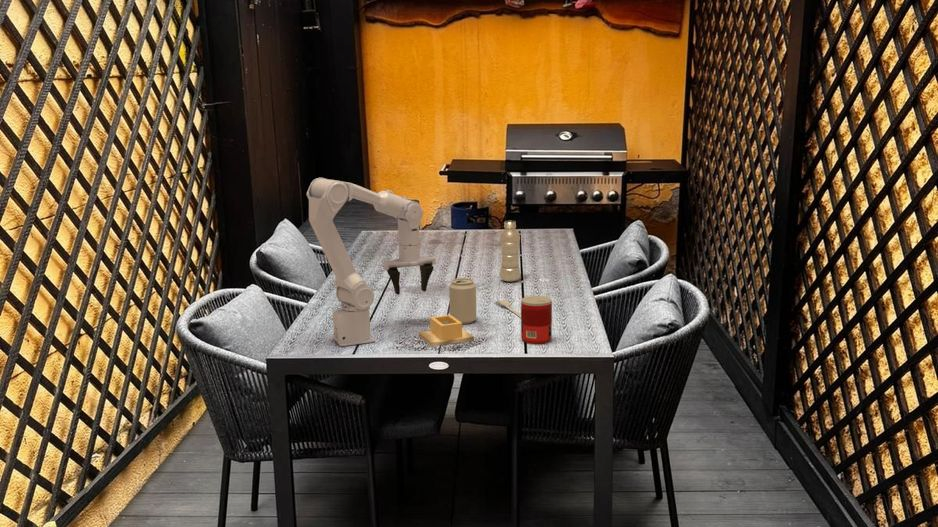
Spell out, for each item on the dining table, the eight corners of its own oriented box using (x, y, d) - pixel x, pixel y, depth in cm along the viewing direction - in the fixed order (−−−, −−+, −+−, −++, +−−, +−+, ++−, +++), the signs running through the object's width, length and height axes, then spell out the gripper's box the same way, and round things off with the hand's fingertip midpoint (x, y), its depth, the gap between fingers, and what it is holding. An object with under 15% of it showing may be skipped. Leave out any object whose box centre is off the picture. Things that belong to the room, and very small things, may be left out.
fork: (522, 329, 249) (523, 320, 248) (491, 303, 267) (491, 295, 266) (531, 328, 250) (532, 319, 249) (499, 302, 268) (500, 294, 267)
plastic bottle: (498, 279, 294) (498, 220, 290) (518, 278, 295) (518, 219, 290) (501, 284, 288) (500, 223, 284) (521, 283, 289) (521, 223, 284)
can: (461, 315, 254) (460, 275, 251) (481, 320, 249) (481, 279, 246) (444, 321, 248) (443, 280, 245) (464, 326, 244) (464, 284, 241)
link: (441, 340, 228) (441, 325, 228) (430, 331, 236) (430, 317, 235) (462, 337, 231) (462, 323, 230) (450, 328, 238) (450, 314, 237)
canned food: (556, 342, 229) (556, 301, 226) (527, 346, 226) (527, 304, 224) (545, 334, 236) (545, 294, 233) (517, 337, 234) (517, 297, 231)
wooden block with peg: (431, 346, 227) (430, 330, 226) (418, 335, 236) (418, 319, 235) (474, 340, 231) (473, 324, 230) (459, 330, 240) (459, 314, 239)
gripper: (387, 249, 232) (389, 298, 235) (439, 244, 238) (440, 292, 241) (380, 244, 239) (382, 292, 242) (430, 239, 244) (431, 286, 247)
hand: (410, 292), depth 242 cm, fingers open, 7 cm apart
